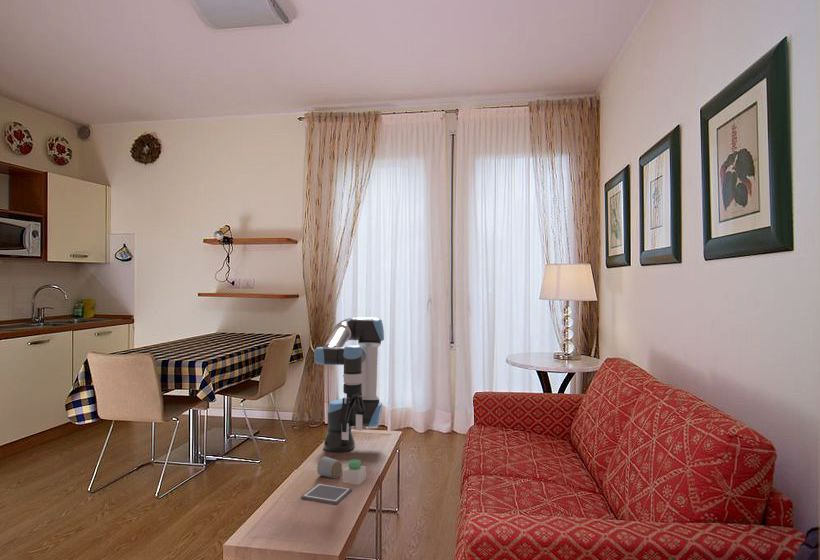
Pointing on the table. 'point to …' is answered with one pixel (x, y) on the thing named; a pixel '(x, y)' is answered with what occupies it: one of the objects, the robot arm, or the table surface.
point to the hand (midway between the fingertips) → (352, 434)
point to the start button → (354, 463)
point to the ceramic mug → (329, 467)
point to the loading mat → (327, 493)
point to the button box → (354, 475)
